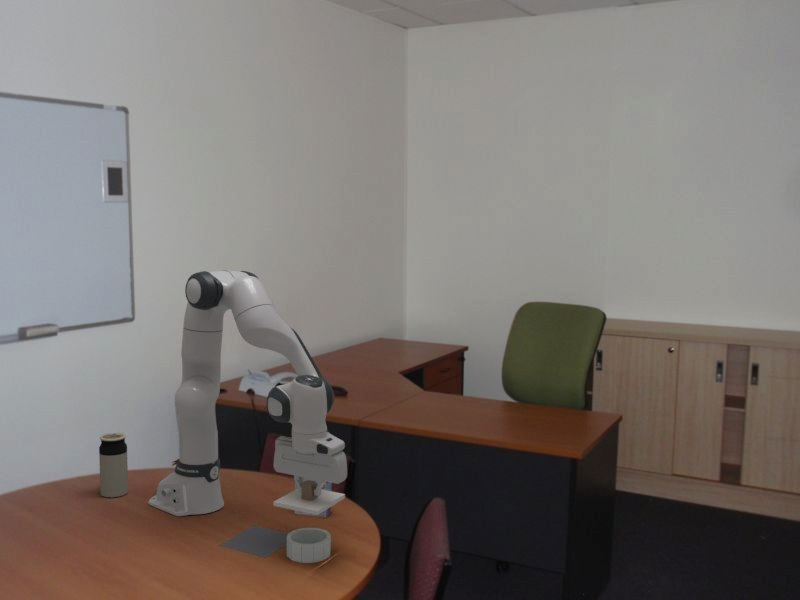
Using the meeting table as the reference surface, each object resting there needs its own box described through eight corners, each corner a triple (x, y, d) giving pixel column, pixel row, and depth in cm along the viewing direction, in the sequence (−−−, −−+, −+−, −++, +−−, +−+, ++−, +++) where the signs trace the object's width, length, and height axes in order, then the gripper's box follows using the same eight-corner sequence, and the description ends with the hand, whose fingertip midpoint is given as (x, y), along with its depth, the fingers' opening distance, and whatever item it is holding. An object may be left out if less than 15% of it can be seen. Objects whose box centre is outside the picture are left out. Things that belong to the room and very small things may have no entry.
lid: (273, 505, 207) (273, 486, 207) (302, 489, 219) (302, 471, 218) (317, 515, 201) (317, 495, 201) (345, 497, 213) (345, 479, 212)
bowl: (278, 558, 209) (278, 539, 209) (303, 542, 219) (303, 524, 218) (314, 568, 204) (315, 548, 204) (338, 551, 214) (338, 533, 213)
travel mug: (122, 498, 248) (121, 440, 246) (96, 498, 248) (94, 439, 246) (131, 489, 256) (130, 432, 254) (106, 488, 256) (104, 432, 254)
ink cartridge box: (332, 511, 241) (332, 463, 239) (327, 518, 236) (327, 469, 234) (300, 508, 243) (300, 460, 241) (293, 515, 238) (293, 466, 236)
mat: (218, 546, 216) (218, 545, 216) (254, 527, 229) (254, 525, 229) (265, 559, 209) (265, 557, 209) (299, 538, 222) (299, 536, 222)
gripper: (268, 438, 210) (268, 490, 212) (337, 450, 201) (337, 504, 202) (282, 431, 215) (283, 483, 217) (350, 443, 206) (350, 496, 208)
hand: (309, 493), depth 210 cm, fingers closed on lid, 3 cm apart
